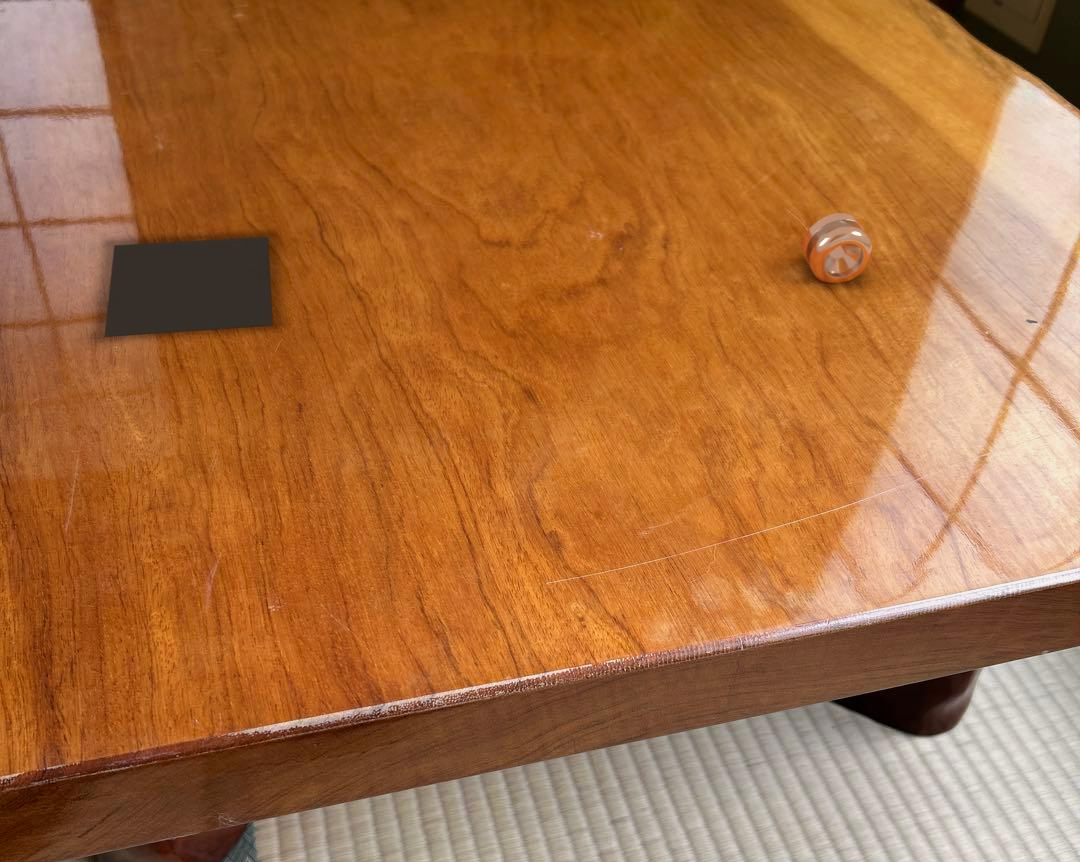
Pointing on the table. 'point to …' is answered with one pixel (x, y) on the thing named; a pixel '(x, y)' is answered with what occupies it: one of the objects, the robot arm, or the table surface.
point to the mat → (189, 286)
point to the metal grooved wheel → (837, 248)
